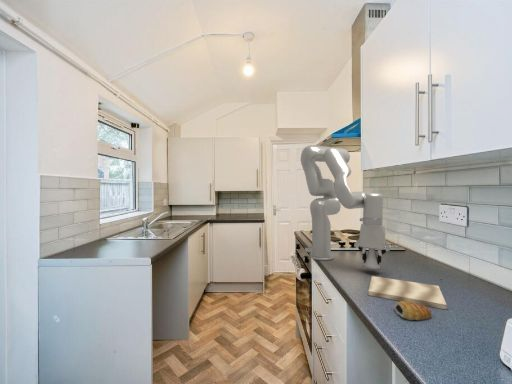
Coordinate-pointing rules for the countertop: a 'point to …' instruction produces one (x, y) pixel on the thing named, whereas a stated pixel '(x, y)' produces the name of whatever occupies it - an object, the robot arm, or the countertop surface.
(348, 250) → the countertop surface
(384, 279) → the birch board
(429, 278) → the countertop surface
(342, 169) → the robot arm
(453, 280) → the countertop surface
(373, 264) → the flask
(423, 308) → the pastry
